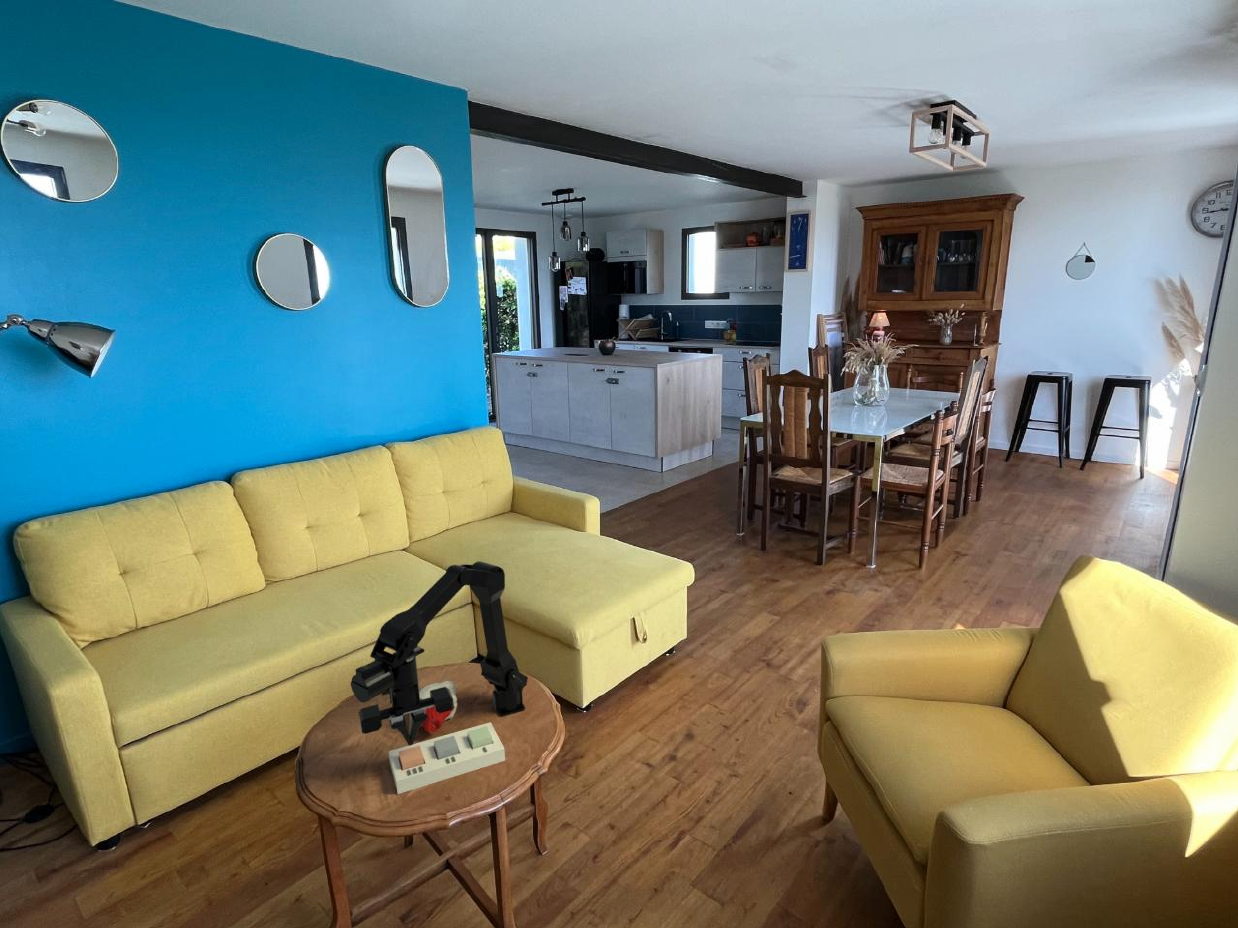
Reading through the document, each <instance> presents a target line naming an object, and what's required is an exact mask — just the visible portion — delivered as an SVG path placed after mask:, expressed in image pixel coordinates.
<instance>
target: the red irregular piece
mask: <svg viewBox="0 0 1238 928" xmlns="http://www.w3.org/2000/svg"><path fill="white" fill-rule="evenodd" d="M442 687H447V688H448V689H449V691H450V693H451V695H452V697H453V702H454V709H453V710H450V711H447V712H443V713H438V712H437V711H436V710H435V706H434V707H430V708H426V711H425V712H426V715H427V720H426V721H423V722H422V724H421V726H420V727H422V728H424V731H425V732H426V733H428V734H432V733H435V732H437V731H438V730H440V729H441V728H442V726H443V724H444V723H445V721H446V720H447V721H448V719H453V717H454V715H455V713H456V711H457V708H458V702H457V701H458V698H457V696H456V695H457V690H456V684H455V682H454V681H452V680H451V679H448V680H444V681H441V682H439V683H438V682H435V683H431V684H428V685H426V686H424V687H423V688H421V689H419V694H420V698H422V699H426V698H430V691H431V690H435V689H438V688H442Z"/></svg>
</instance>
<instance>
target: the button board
mask: <svg viewBox="0 0 1238 928" xmlns="http://www.w3.org/2000/svg"><path fill="white" fill-rule="evenodd" d="M486 726H487V728H488V730H489V732H490V734H491V736H492V744H489V745H486V746H483V747H479V748H476V749H473V750H472V748H471V745H470V743H469V741H468V731H472V730H475V729H479V728H482V727H486ZM451 736H454V737H455V740H456V742H457V745H458V748H459V754H456V755H453V756H449V757H446V758H443V759H439V760H438V758H437V755H436V752H435V748H434V741H437V740H440V739H444V738H447V737H451ZM416 746H420V748H421V751H422V754H423V758H424V764H423V765H419V766H416V767H413V768H409V769H406V770H402V766H401V763H400V758H399V751H402V750H406V749H409V748H413V747H416ZM505 750H506V749H505V746H504V745H503V743H502V741H501V739H500V737H499V735H498V733H497V732H496V729H495V728H494V726H493V724H492V722H486V723H483V724H479V725H476V726H472V727H469V728H465V729H462V730H459V731H455V732H451V733H449V734H445V735H441V736H438V737H434V738H431V739H427V740H423V741H421V742H417V743H413V745H410V746H409V745H406V746H402V747H400V748H395V749H392V750H390V751H388V757H389V758H388V760H389V764H390V765H389V766H390V769H391V773H392V777H393V780H394V785H395V789H396V791H397V792H396V793H397V795H401V794H403V793H406V792H409V791H412V790H416V789H418V788H422V787H425V786H428V785H431V784H434V783H438V782H440V781H444V780H448V779H451V778H454V777H457V776H460V775H463V774H466V773H470V772H473V771H476V770H479V769H483V768H486V767H489V766H493V765H496V764H498V763H502V762H505V761H506V752H505Z"/></svg>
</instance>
